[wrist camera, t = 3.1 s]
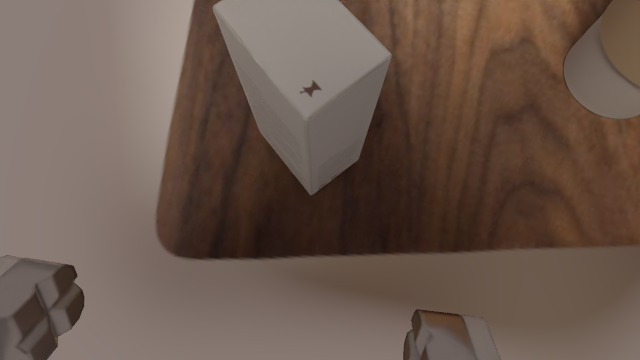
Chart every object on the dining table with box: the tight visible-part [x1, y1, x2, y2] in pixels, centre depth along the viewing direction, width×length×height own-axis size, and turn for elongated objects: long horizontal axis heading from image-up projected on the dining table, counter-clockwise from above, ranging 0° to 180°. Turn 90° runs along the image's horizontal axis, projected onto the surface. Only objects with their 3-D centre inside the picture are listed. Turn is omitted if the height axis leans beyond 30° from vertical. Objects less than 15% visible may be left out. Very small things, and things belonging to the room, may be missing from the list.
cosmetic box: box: [213, 0, 391, 195], centre depth 19 cm, size 6×4×12 cm
